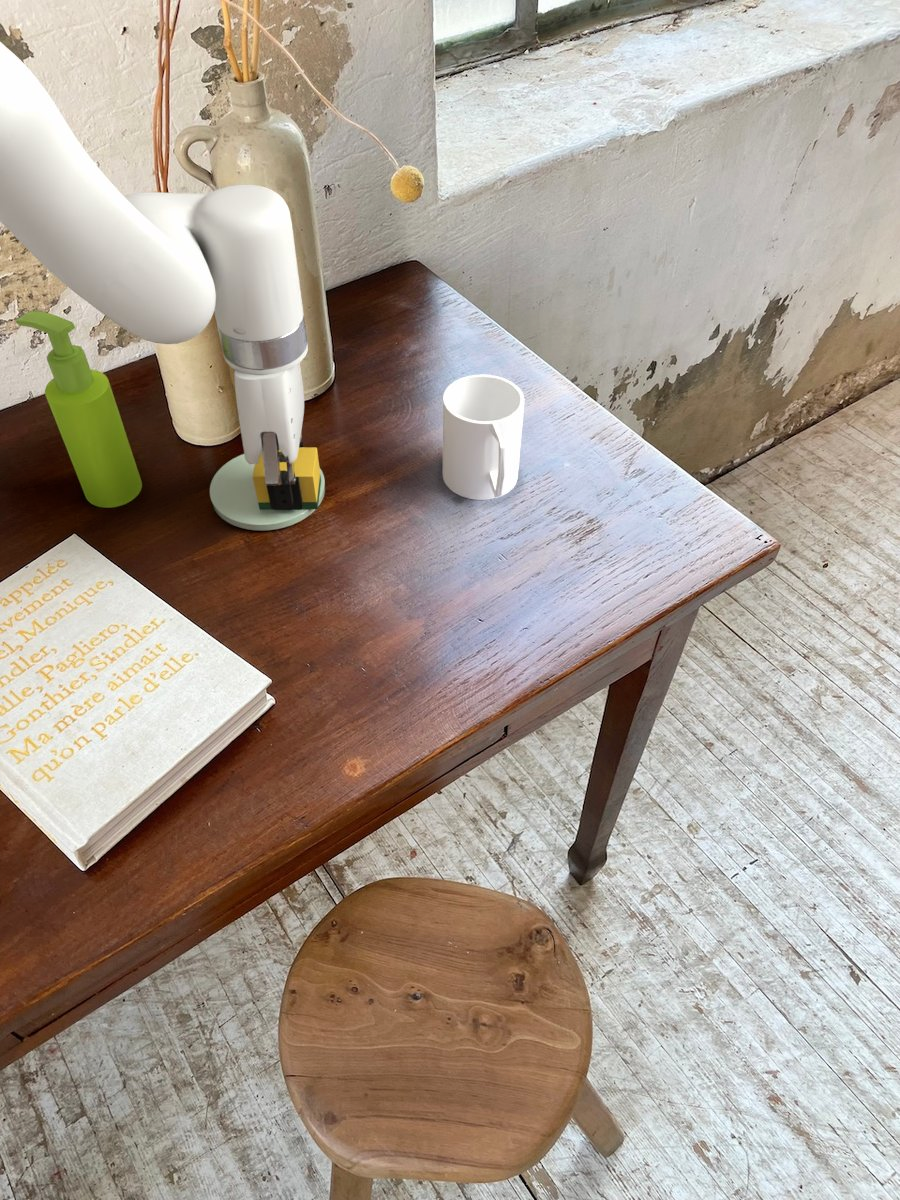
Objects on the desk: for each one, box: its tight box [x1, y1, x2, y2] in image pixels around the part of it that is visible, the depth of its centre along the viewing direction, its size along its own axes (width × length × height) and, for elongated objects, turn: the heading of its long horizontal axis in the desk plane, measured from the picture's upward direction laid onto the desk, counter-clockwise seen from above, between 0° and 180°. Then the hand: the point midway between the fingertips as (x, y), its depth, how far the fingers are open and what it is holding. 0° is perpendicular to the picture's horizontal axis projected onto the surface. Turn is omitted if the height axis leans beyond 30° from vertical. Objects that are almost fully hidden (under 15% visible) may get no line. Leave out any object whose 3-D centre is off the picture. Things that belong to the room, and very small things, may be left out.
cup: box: [442, 373, 525, 501], centre depth 93 cm, size 8×12×10 cm
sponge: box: [253, 446, 321, 510], centre depth 92 cm, size 6×4×4 cm
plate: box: [209, 453, 326, 532], centre depth 95 cm, size 12×12×1 cm
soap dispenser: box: [14, 310, 143, 509], centre depth 89 cm, size 6×7×20 cm
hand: (289, 489), depth 93 cm, fingers closed on sponge, 4 cm apart
